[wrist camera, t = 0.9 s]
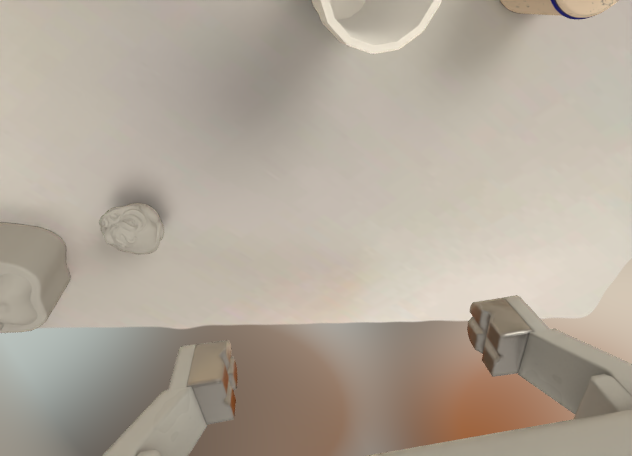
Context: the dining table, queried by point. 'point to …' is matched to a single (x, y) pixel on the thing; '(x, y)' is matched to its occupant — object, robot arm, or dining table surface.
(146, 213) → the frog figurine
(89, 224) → the dining table surface
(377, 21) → the foam cup
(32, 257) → the lumpy-topped squat cylinder
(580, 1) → the teacup with lid
